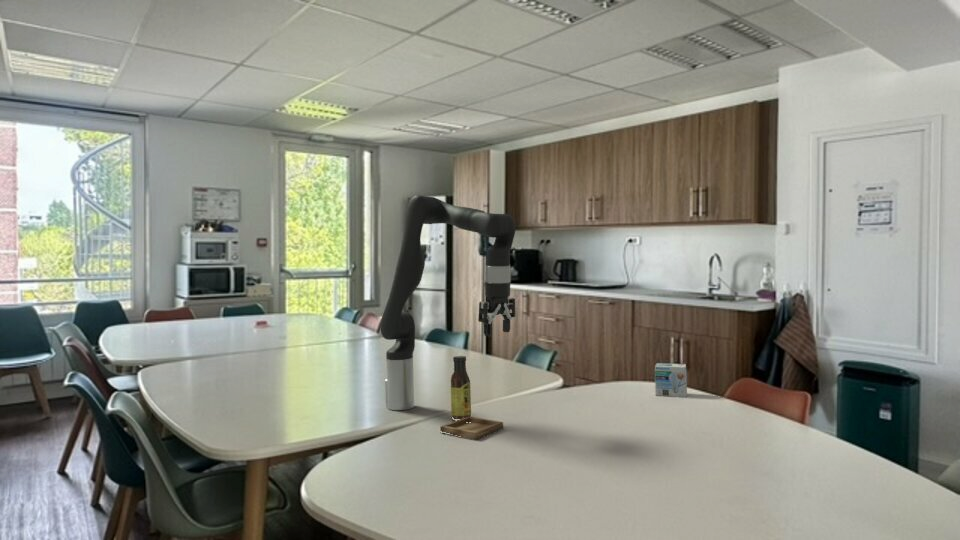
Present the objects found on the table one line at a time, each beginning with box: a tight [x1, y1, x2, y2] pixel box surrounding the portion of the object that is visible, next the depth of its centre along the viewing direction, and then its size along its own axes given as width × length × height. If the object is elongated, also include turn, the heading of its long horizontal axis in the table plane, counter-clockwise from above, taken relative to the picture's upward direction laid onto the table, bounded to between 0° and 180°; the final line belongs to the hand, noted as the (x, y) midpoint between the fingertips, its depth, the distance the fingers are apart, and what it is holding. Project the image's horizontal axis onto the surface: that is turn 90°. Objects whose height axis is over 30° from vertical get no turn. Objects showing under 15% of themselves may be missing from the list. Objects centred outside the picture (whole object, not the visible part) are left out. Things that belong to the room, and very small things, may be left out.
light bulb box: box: [654, 362, 688, 398], centre depth 200 cm, size 11×7×11 cm, turn 68°
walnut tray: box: [439, 416, 504, 441], centre depth 161 cm, size 13×13×2 cm
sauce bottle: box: [450, 355, 472, 419], centre depth 175 cm, size 7×6×20 cm
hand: (497, 334), depth 167 cm, fingers open, 8 cm apart
